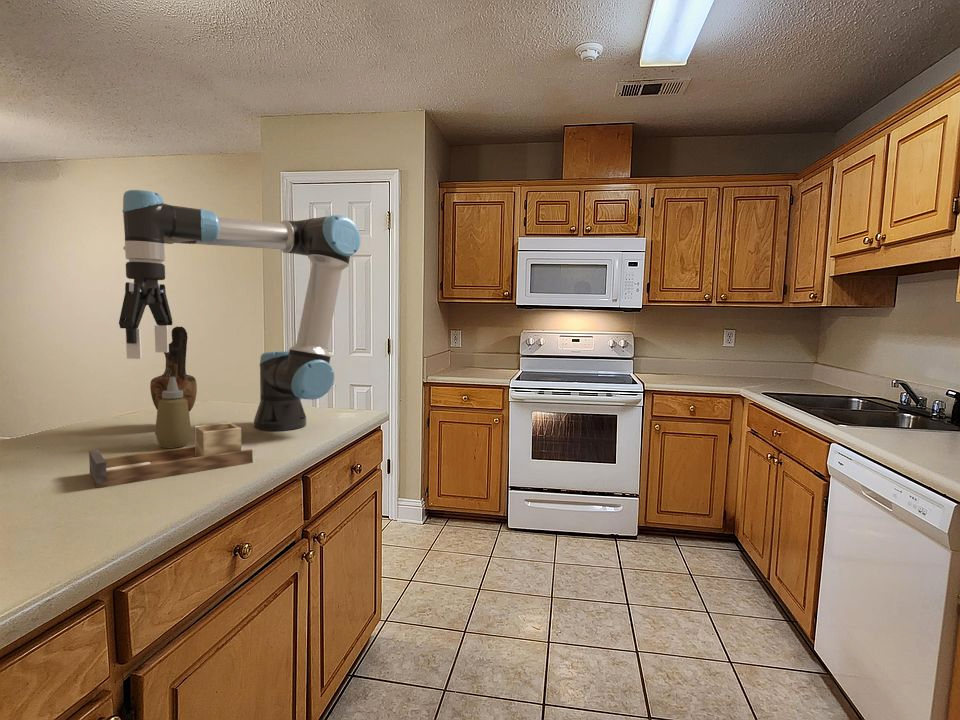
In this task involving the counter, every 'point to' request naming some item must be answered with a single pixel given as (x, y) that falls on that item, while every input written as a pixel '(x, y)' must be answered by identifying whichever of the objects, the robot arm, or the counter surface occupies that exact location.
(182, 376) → the vase
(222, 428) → the crate
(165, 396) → the squeeze bottle
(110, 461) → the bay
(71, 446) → the counter surface
